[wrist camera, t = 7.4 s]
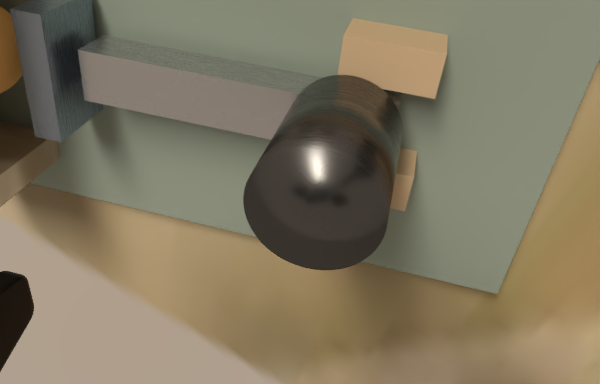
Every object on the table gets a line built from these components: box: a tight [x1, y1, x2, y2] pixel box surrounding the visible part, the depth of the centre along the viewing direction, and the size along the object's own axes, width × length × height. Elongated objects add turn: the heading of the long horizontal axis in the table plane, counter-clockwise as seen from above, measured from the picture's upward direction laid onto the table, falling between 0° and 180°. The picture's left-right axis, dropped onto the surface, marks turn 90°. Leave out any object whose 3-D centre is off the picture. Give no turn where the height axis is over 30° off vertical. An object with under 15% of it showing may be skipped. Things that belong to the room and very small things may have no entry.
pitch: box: [0, 0, 600, 294], centre depth 19 cm, size 23×14×2 cm, turn 84°
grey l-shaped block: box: [10, 0, 403, 270], centre depth 17 cm, size 12×4×6 cm, turn 84°
